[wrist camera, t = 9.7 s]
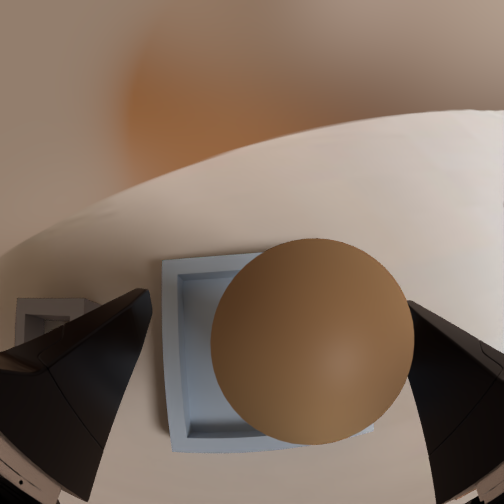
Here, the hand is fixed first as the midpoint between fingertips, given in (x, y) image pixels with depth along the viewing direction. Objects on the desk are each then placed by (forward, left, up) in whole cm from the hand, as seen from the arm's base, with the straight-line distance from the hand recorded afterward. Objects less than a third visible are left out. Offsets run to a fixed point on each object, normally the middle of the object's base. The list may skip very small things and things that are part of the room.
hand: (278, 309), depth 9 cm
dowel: (-1, 0, -8) cm, 8 cm away
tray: (-1, 0, -9) cm, 9 cm away
